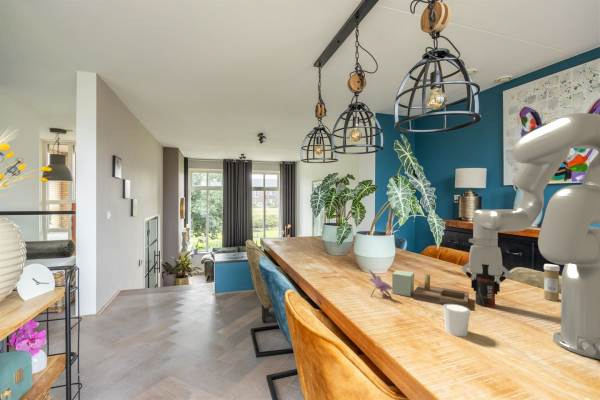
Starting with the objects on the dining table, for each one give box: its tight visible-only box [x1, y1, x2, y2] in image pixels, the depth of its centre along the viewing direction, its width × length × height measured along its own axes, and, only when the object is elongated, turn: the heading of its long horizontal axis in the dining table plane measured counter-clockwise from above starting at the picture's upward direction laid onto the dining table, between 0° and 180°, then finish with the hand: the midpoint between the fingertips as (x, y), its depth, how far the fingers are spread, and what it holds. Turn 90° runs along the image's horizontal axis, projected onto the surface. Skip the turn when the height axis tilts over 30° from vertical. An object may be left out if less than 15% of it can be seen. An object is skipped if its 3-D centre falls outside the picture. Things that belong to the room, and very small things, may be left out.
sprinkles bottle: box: [543, 263, 561, 302], centre depth 109 cm, size 5×5×14 cm
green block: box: [391, 269, 415, 297], centre depth 115 cm, size 7×7×8 cm
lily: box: [367, 269, 393, 298], centre depth 111 cm, size 12×12×10 cm
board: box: [412, 273, 470, 309], centre depth 109 cm, size 13×18×8 cm
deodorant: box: [475, 264, 496, 308], centre depth 103 cm, size 6×6×15 cm
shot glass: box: [442, 304, 471, 337], centre depth 81 cm, size 7×7×7 cm
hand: (485, 291), depth 103 cm, fingers closed on deodorant, 5 cm apart
